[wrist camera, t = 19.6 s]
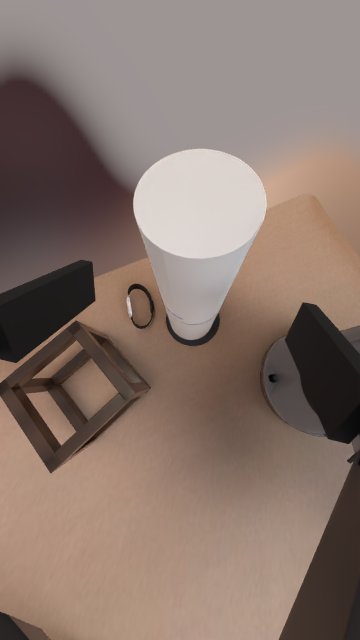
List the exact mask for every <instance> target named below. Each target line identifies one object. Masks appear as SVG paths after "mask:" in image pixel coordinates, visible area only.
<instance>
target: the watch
mask: <svg viewBox="0 0 360 640" xmlns="http://www.w3.org/2000/svg"><path fill="white" fill-rule="evenodd" d="M133 289H140V290H142V291H144V292H145V293H146V295H147V296H148V298H149V301H150V307H151V309H150V310H151V313H152V316H151V320H152V317H153V308H154V306H153V301H152V300H151V296H150V294H149V292H148V291H147V289H146V288H145V287H143V286H142V285H140V284H133V285H131V286H130V287H129V289H128V298H126V302H127V309H128V315H129V317H131V319H132V322H133V324H134V325H135V326H136V327H137V328H140V329H143V328H146V327H147V326H148V325H149V324H150V323H151V320H150V322H149V323H148V324H147V325H145V326H138V325H137V324H135V322H134V321H133V318H132V309H131V303H130V298H129V294H130V292H131V291H132V290H133Z"/></svg>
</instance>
